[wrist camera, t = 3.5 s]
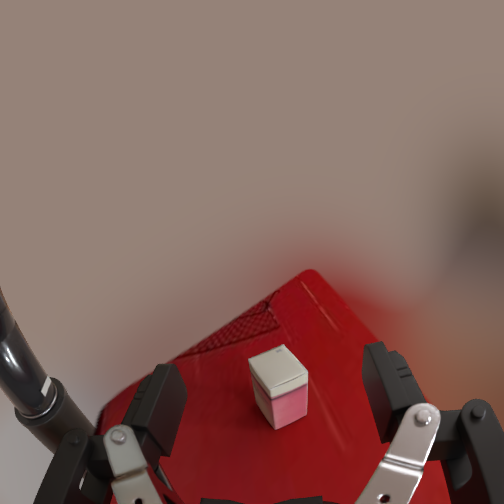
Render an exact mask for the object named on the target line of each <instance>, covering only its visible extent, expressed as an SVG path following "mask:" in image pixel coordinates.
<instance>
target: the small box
mask: <svg viewBox="0 0 504 504" xmlns="http://www.w3.org/2000/svg"><path fill="white" fill-rule="evenodd" d="M248 361H249V367H250V372H251V377H252V383H253V388H254V394H255V399H256V403H257V405H258V406H259V408H260V410H261V411H262V413H263V414H264V416H265V417H266V419H267V420H268V422H269V423H270V424H271V426H272V427H273V428H274V429H275V430H276V429H279V428H281V427H283V426H285V425H288V424H290V423H292V422H294V421H296V420H298V419H300V418H301V417H303V416H305V415H306V414H307V390H308V371H307V370H306V368H305V367H304V366H303V365H302V364H301V363H300V362H299V361H298V360H297V358H296V357H295V356H294V355H293V354H292V353H291V352H290V351H289V350H288V349H287V348H286V347H285V345H280V346H278V347H276V348H273V349H271V350H268V351H266V352H264V353H261V354H259V355H257V356H254V357H252V358H250V359H248Z"/></svg>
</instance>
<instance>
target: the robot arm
mask: <svg viewBox="0 0 504 504" xmlns="http://www.w3.org/2000/svg"><path fill="white" fill-rule="evenodd" d="M362 379H363V384H364V387H365V390H366V393H367V396H368V400H369V403H370V406H371V409H372V413H373V416H374V419H375V423H376V426H377V429H378V433H379V436H380V440H381V444H383V443H386V442H390V447H389V449H388V451H387V452H386V454H385V456H384V458H383V459H382V460H381V462H380V464H379V465H378V467H377V469H376V471H375V472H374V474H373V476H372V477H371V479H370V481H369V482H368V484H367V485H366V487H365V489H364V490H363V492H362V493H361V495H360V496H359V498H358V499H357V501H356V502H355V504H408V503H409V501H410V499H411V497H412V495H413V493H414V491H415V489H416V487H417V485H418V483H419V481H420V479H421V476H422V474H423V471H424V469H423V467H424V464H425V462H426V461H435V460H440V462H441V465H442V469H443V472H444V476H445V480H446V484H447V487H448V492H449V496H450V500H451V504H504V432H503V430H502V428H501V426H500V423H499V421H498V419H497V417H496V415H495V414H494V411H493V409H492V408H491V406H490V405H489V403H487V402H486V401H484V400H480V399H473V400H470V401H469V402H467V403H466V404H465V405H464V406H463V408H462V410H450V411H441V410H438V409H437V408H436V407H435V406H433V405H431V404H428V403H427V402H426V400H425V398H424V396H423V394H422V392H421V390H420V388H419V386H418V384H417V382H416V380H415V378H414V376H413V375H412V372H411V370H410V368H409V367H408V364H407V362H406V360H405V359H404V357H403V356H402V355H400V354H399V353H398V352H396V351H391V352H388V351H387V349H386V347H385V345H384V343H383V342H382V341H380V342H376V343H371V344H366V345H365V346H364V353H363V365H362ZM0 388H1V389H2V391H3V392H4V393H5V395H6V396H7V397H8V398H9V400H10V401H11V402H12V403H13V405H14V406H15V407H16V408H17V410H18V411H19V413H20V414H21V415H22V416H23V417H24V418H26V419H29V420H37V419H40V418H42V417H44V416H46V415H47V414H48V413H49V412H50V411H51V410H52V409H53V408H54V406H55V405H56V402H57V400H58V389H57V387H56V386H55V384H54V383H53V382H52V381H51V379H50V378H49V376H48V375H47V374H46V372H45V370H44V369H43V367H42V366H41V364H40V363H39V361H38V360H37V358H36V356H35V355H34V353H33V351H32V350H31V348H30V347H29V345H28V343H27V341H26V340H25V338H24V336H23V334H22V332H21V331H20V329H19V327H18V325H17V323H16V321H15V319H14V317H13V315H12V313H11V311H10V309H9V307H8V305H7V303H6V301H5V299H4V296H3V294H2V291H1V288H0ZM133 398H134V399H133V400H132V402H131V404H130V406H129V408H128V410H127V412H126V414H125V417H124V419H123V421H122V423H121V425H116V426H113V427H111V428H110V429H109V430H108V431H107V432H106V433H105V435H97V436H88V434H87V433H86V432H85V431H84V430H82V429H78V428H76V429H72V430H70V431H68V432H67V433H66V434H65V435H64V436H63V438H62V440H61V442H60V444H59V446H58V449H57V451H56V453H55V455H54V457H53V459H52V461H51V463H50V465H49V468H48V470H47V473H46V474H45V477H44V479H43V481H42V484H41V486H40V488H39V490H38V493H37V495H36V498H35V500H34V503H33V504H110V502H111V499H112V495H113V492H114V495H115V497H116V500H117V502H118V504H185V503H184V502H183V501H182V500H181V498H180V497H179V496H178V494H177V493H176V491H175V490H174V488H173V486H172V484H171V483H170V481H169V479H168V477H167V475H166V473H165V472H164V470H163V468H162V466H161V464H160V462H159V459H160V456H167V457H170V455H171V451H172V448H173V444H174V441H175V438H176V434H177V431H178V427H179V424H180V421H181V417H182V414H183V411H184V407H185V404H186V401H187V389H186V386H185V384H184V382H183V379H182V377H181V375H180V373H179V370H178V368H177V366H176V365H175V364H158V365H157V366H156V368H155V370H154V372H153V374H152V375H148V376H147V377H146V378H145V379H144V380H143V381H142V382H141V383H140V385H139V387H138V389H137V393H135V395H134V397H133ZM85 469H86V470H87V473H86V476H85V479H84V481H83V484H82V487H81V490H80V489H79V485H80V481H81V479H82V476H83V474H84V471H85ZM200 504H243V503H239V502H235V501H231V500H220V499H207V498H201V502H200ZM275 504H338V503H334V502H327V501H322V496H316V497H308V498H298V499H290V500H286V501H283V502H279V503H275Z"/></svg>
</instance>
